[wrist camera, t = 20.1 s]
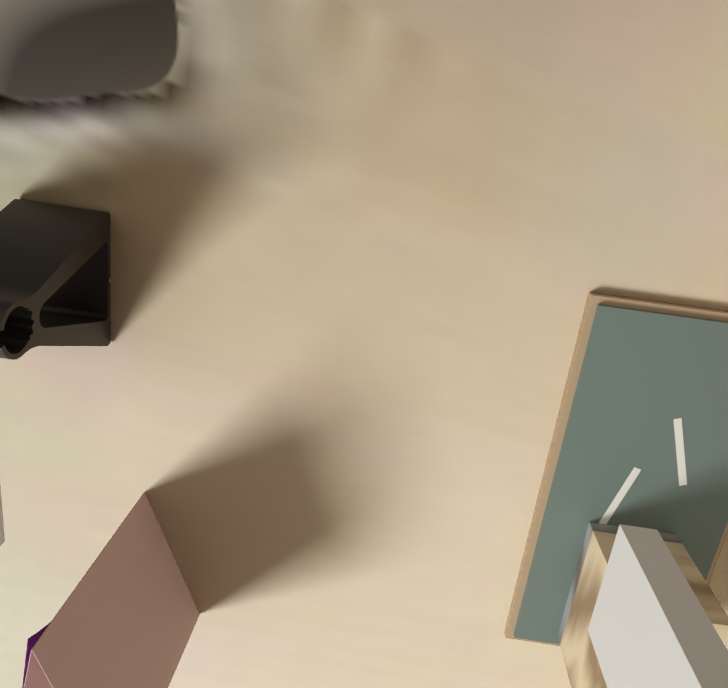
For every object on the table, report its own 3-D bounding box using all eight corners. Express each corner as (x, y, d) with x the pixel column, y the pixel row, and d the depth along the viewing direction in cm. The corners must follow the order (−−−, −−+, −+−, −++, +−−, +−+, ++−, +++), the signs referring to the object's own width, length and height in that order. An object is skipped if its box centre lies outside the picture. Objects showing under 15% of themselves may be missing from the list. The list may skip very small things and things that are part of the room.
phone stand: (110, 344, 44) (6, 422, 33) (24, 330, 44) (-110, 404, 33) (111, 211, 41) (-4, 248, 30) (18, 197, 41) (-131, 228, 30)
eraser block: (589, 521, 45) (627, 611, 37) (676, 534, 45) (733, 626, 37) (557, 635, 48) (585, 739, 40) (638, 647, 48) (683, 754, 40)
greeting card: (133, 488, 48) (15, 644, 34) (229, 519, 48) (152, 687, 34) (104, 604, 52) (-13, 788, 38) (193, 633, 52) (111, 826, 38)
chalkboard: (589, 292, 41) (593, 296, 40) (799, 321, 40) (808, 326, 39) (504, 631, 50) (506, 642, 49) (675, 657, 49) (680, 668, 48)
